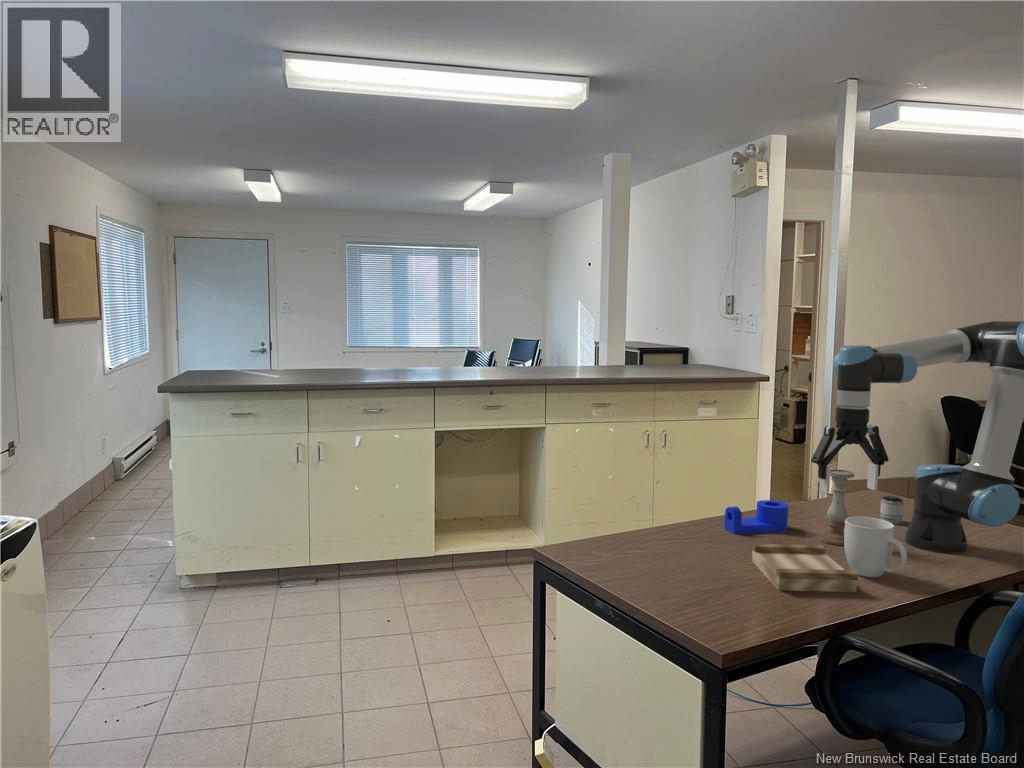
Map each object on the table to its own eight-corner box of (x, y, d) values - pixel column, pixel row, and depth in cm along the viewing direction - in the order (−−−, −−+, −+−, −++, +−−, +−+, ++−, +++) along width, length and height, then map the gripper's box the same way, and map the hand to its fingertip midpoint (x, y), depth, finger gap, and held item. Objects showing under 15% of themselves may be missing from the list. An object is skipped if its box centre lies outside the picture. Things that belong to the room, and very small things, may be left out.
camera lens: (875, 519, 223) (876, 495, 222) (893, 518, 223) (895, 495, 222) (888, 525, 216) (889, 500, 216) (906, 524, 217) (908, 500, 216)
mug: (916, 580, 170) (919, 528, 169) (892, 589, 164) (895, 535, 162) (857, 562, 182) (860, 513, 181) (833, 570, 176) (836, 520, 175)
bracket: (774, 523, 218) (775, 499, 217) (793, 531, 209) (795, 506, 209) (720, 527, 212) (721, 503, 212) (737, 536, 204) (738, 511, 203)
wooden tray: (820, 561, 182) (821, 545, 182) (857, 592, 162) (858, 574, 161) (751, 560, 183) (752, 543, 182) (779, 590, 162) (779, 572, 162)
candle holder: (855, 547, 194) (859, 476, 192) (820, 543, 197) (824, 473, 195) (850, 538, 203) (854, 470, 201) (818, 534, 205) (821, 467, 204)
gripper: (885, 404, 179) (881, 484, 181) (798, 406, 174) (795, 488, 176) (907, 407, 172) (902, 491, 174) (817, 410, 167) (813, 496, 169)
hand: (848, 490), depth 175 cm, fingers open, 13 cm apart
